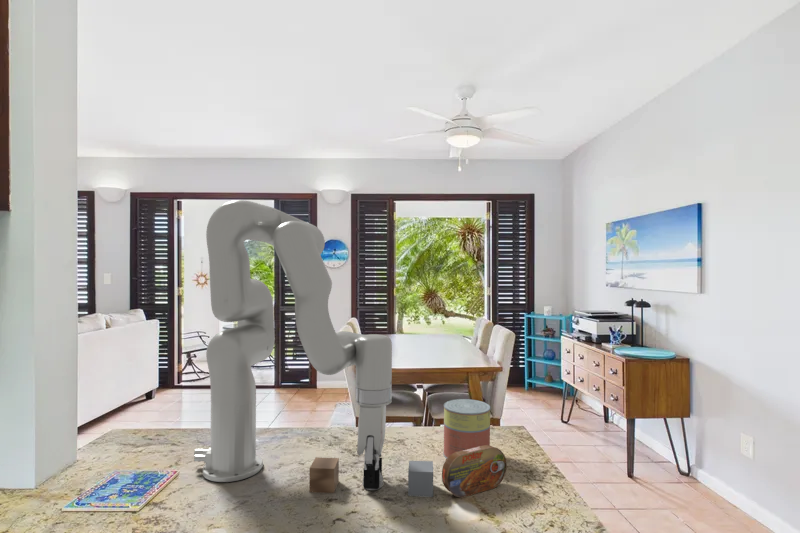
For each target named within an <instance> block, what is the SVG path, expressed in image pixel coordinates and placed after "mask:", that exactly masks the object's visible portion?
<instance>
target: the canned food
mask: <svg viewBox="0 0 800 533" xmlns="http://www.w3.org/2000/svg"><path fill="white" fill-rule="evenodd" d="M483 445H489V446H491V405H490V404H488V403H486V402H485V401H481V400H477V399H470V398H469V399H468V398H458V399H457V398H455V399H450V400H448V401H446V402H444V403H443V453H442V454H443V457H444V458H445V459H447V458H448V457H449V456H450V455H451V454H453V453H455V452H458V451H463V450H467V449H471V448H475V447H479V446H483Z"/></svg>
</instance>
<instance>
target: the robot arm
mask: <svg viewBox="0 0 800 533" xmlns="http://www.w3.org/2000/svg"><path fill="white" fill-rule="evenodd" d="M206 225H207V226H206V233H205V236H206V247H207V253H208V261H209V262H208V264H209V266H208V267H209V290H210V306H211V311H212V314H213V315H214V317H215V318H216V319H217V320H219V321H220V322H224V323H236V322H237V326H236V327H231V328H227V329H224V330H222V331H219V332H218V333H217V334H215V335H214V336H212V338H211V339H210V341H209V342H208V345H207V347H206V353H205V354H206V364H207V368H208V374H209V382H210V445H209V446H210V447H209V448H195V449H194V452H193V456H194V457H193V458H194V459H193V461H194V462H204V463H205V464H204V466H203V467H202V477H204V478H205V479H206V480H208V481H211V482H215V483H216V482H217V483H229V482H231V483H232V482H237V481H241V480H244V479H247V478H250V477H252V476H254V475H256V474H257V473H260V471H261V470H262V469H263V460H264V459H263V458H262V457H261V456H259V455H258V454H256V450H257V449H256V448H257V444H256V443H257V441H256V439H257V432H256V431H257V429H256V428H257V387H256V386H257V385H256V380H255V378H254V373H253V370H252V366H253V365H257V364H258V363H261V362H263V361H265V360H266V359H268V357H269V356H271V354H272V353H273V350H274V347H275V340H276V339H275V338H276V337H275V319H274V318H275V317H274V302H273V296H272V293H271V291H270V289H269V287H268V286H267V285H266V284H265V283H264V282H262V281H261V280H259V279H255V278H251V277H252V276H251V271H250V270H251V264H250V263H251V262H250V257H249V254H248V251H247V249H246V246H245V242H246V241H247V240H248V241H256V242H263V243H266V244H269V245H271V246H273V247H274V251H275V253H276V255H277V257H278V260H279V262H280V265H281V267H282V270H283V272H284V273H285V277H286V279H287V282H288V284H289V287H290V289H291V291H292V293H293V296H294V316H295V324H296V325H295V326H296V332H297V334H298V338H299V340H300V343H301V345H302V348H303V351H304V353H305V354H306V357H307V358H308V361H309V363H310V364H311V366H312V367H313V368H314V369H315V370H316V371H317V372H318V373H320V374H322V375H324V376H325V375H326V376H332V375H336V374H338V373H340V372H342V371H344V370H345V369H346V368H348V367H351V366H355V403H356V405H358V406H359V410H358V421H357V422H358V424H357V448H356V450H357V451H356V453H357V455H358V456H361V455H363V454H364V459H363V460H364V462H363V464H364V465H363V476H364V479H363V478H362V483H363V485H362V486H363V489H365V490H367V489H378V490H380V489H379V475H380V473H381V475H382V474H383V457H382V452H383V447H384V444H385V436H386V422H387V420H386V419H387V415H386V414H387V406H389V405H390V404H391V403H392V391H393V390H392V387H393V386H392V383H393V382H392V379H393V377H392V376H393V374H392V373H393V371H392V370H393V367H392V366H393V365H392V364H393V363H392V362H393V343H392V339H391V338H390V337H389V336H388V335H384V334H377V333H375V334H374V333H373V334H372V333H370V334H361V333H357V332H351V331H344V330H342V331H338V332H336V330H335V328H334V325H333V323H332V320H331V317H330V310H329V299H330V294H331V291H332V288H333V282H332V278H331V276H330V273H329V272H328V269H327V267H326V265H325V263H324V260H323V258H322V255H321V254H323V251H324V249H325V244H326V243H325V241H326V240H325V237H324V234H323V233H322V231H321V229H320V228H318V227H317V226H316V225H314V224H313V223H309V222H307V221H304V220H302V219H300V218H298V217H295V216H293V215H291V214H288V213H287V212H284V211H282V210H279V209H277V208H274V207H271V206H268V205H264V204H260V203H258V202H254V201H250V200H244V199H237V200H235V199H234V200H231V201H227V202H225V203H223V204H221V205H220V206H219V207H217V209H215V210H214V211H213V213H212V214H211V216H210V217H209V220H208V223H207V224H206ZM373 451H376V453H373ZM378 456H379V459H380V460H379V468H378ZM373 457H375V460H373ZM382 476H383V475H382Z"/></svg>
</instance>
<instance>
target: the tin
mask: <svg viewBox="0 0 800 533" xmlns="http://www.w3.org/2000/svg"><path fill="white" fill-rule="evenodd" d="M445 459H446V458H445ZM507 467H508V466H507V459H506V456H505V454H504V452H503V451H502V450H501V449H500V448H497V447H495V446H491V445H490V446H489V445H483V446H479V447H475V448H471V449H467V450H463V451H458V452H455V453H453V454H451V455H450V456H449V457H448V458H447V459H446V460H445V461H444V462H443V466H442V467H441V468H442V469H441V470H442V471H441V479H442V484H443V486H444V488H445V489H446V490H447V491H448V492H450V494H452V495H453V496H454V497H457V498H460V499H461V498H467V497H471V496H473V495H476V494H479V493H482V492H486V491H490V490H493V489H495V488H497V487H498V486H500V484H501V483H502V482H503V480H504V478H505V476H506V472H507Z"/></svg>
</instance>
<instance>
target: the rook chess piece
mask: <svg viewBox="0 0 800 533" xmlns="http://www.w3.org/2000/svg"><path fill="white" fill-rule="evenodd" d="M373 453H376V451H373ZM373 460H375V457H373ZM379 460H380V459H379V456H378V468H379ZM363 479H364V475H363V477H362V480H363ZM383 481H384V477H383V475H381V473H380V475H379V489H366V490H367V491H377V490H380V489H381V488H382V487H383V485H384V482H383ZM362 486H363V482H362Z"/></svg>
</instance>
